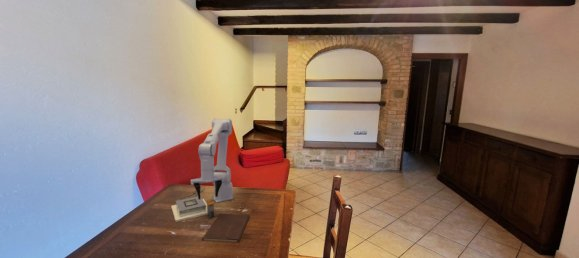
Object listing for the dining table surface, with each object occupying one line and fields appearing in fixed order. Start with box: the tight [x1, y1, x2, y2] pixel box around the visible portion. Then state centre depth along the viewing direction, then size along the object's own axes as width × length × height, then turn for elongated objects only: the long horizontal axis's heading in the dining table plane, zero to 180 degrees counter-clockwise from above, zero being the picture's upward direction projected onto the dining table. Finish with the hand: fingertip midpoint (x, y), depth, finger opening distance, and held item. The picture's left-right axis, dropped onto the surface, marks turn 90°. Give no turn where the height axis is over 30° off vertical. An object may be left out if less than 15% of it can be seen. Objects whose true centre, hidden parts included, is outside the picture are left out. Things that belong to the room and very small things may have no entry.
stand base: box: [171, 198, 208, 223], centre depth 126 cm, size 16×16×1 cm
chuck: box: [175, 195, 206, 217], centre depth 125 cm, size 12×12×3 cm
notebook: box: [201, 213, 251, 243], centre depth 111 cm, size 15×20×2 cm
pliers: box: [176, 187, 206, 201], centre depth 143 cm, size 10×1×20 cm
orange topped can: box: [206, 199, 215, 219], centre depth 120 cm, size 3×3×8 cm
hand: (208, 197), depth 118 cm, fingers open, 7 cm apart
